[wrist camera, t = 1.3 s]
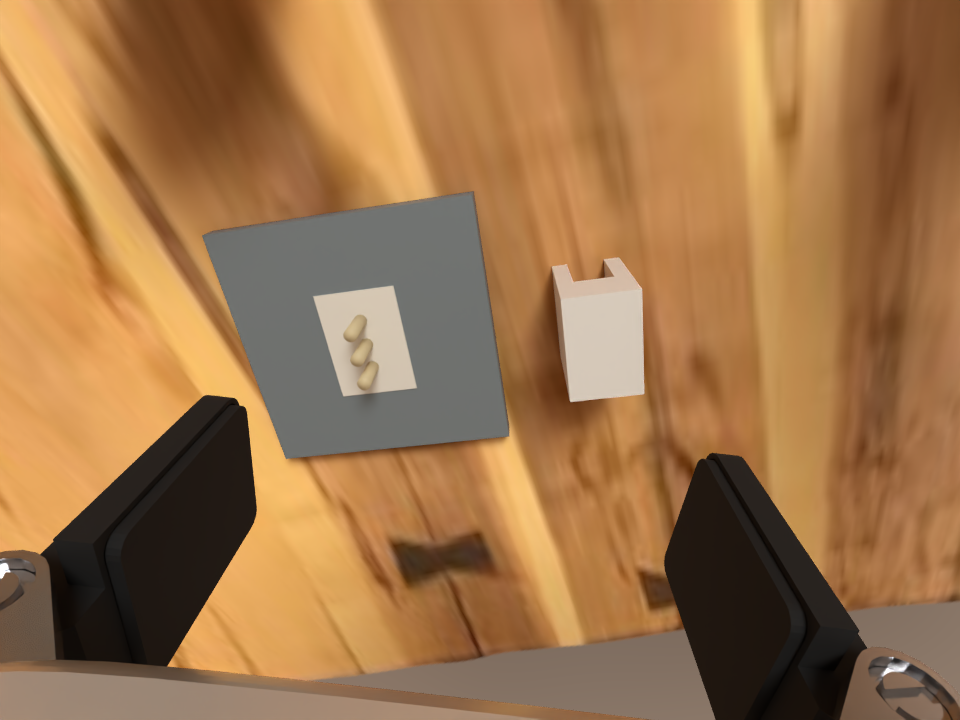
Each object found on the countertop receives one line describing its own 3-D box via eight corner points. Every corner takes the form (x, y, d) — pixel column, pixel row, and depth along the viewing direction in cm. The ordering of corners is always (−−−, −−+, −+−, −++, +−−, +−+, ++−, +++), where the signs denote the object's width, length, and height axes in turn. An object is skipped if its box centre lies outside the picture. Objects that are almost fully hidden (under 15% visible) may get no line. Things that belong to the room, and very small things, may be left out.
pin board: (473, 191, 30) (469, 202, 27) (509, 426, 37) (509, 458, 34) (212, 231, 32) (177, 245, 29) (292, 448, 39) (271, 481, 35)
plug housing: (618, 257, 31) (642, 288, 26) (622, 348, 34) (644, 394, 29) (551, 266, 32) (560, 299, 26) (560, 355, 34) (569, 402, 29)
